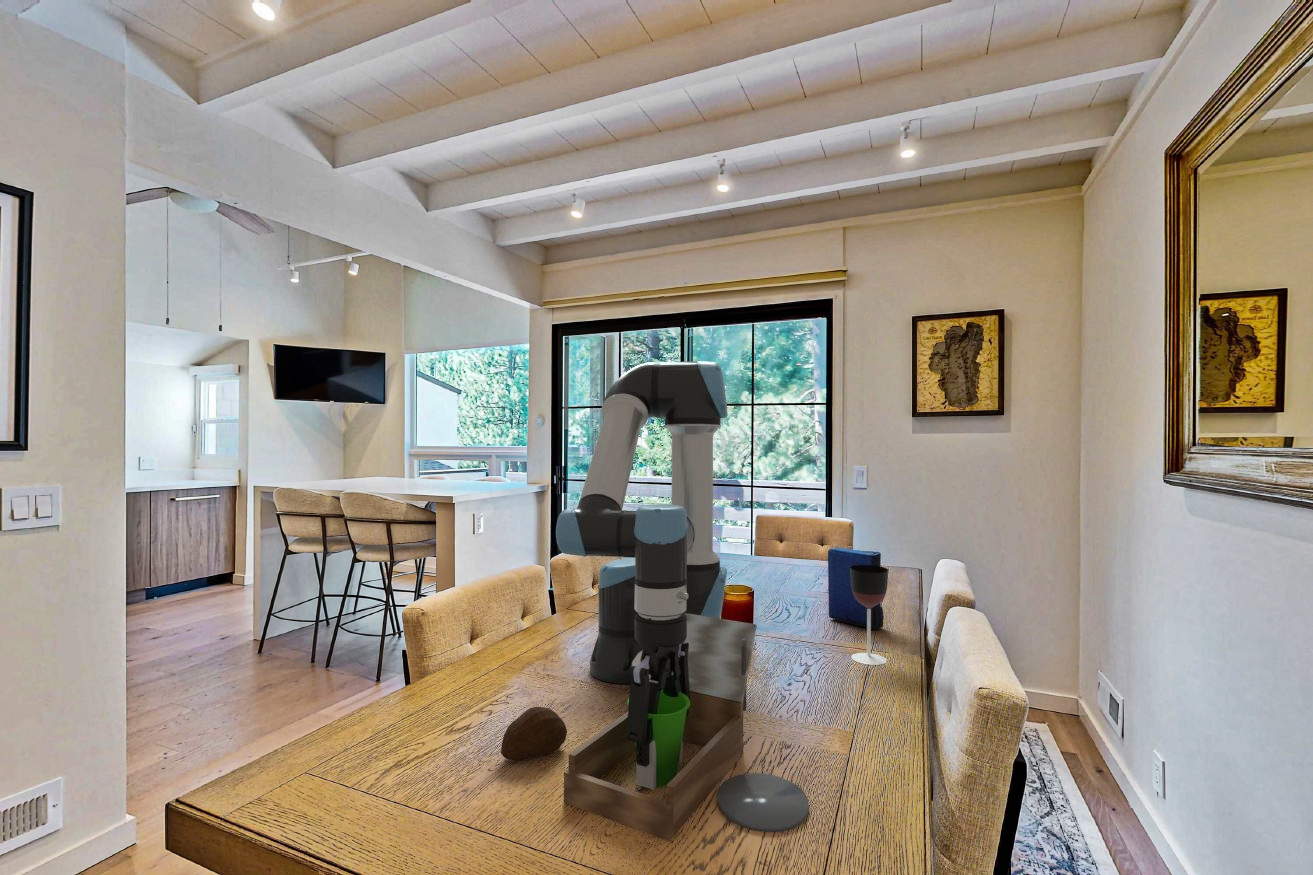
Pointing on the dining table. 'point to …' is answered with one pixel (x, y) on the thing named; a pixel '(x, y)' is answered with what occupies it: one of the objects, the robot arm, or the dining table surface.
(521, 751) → the potato
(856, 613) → the book
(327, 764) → the dining table surface
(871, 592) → the wineglass
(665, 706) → the cup
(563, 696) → the dining table surface
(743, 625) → the cold frame
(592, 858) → the dining table surface
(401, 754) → the dining table surface
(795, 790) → the gray round coaster
